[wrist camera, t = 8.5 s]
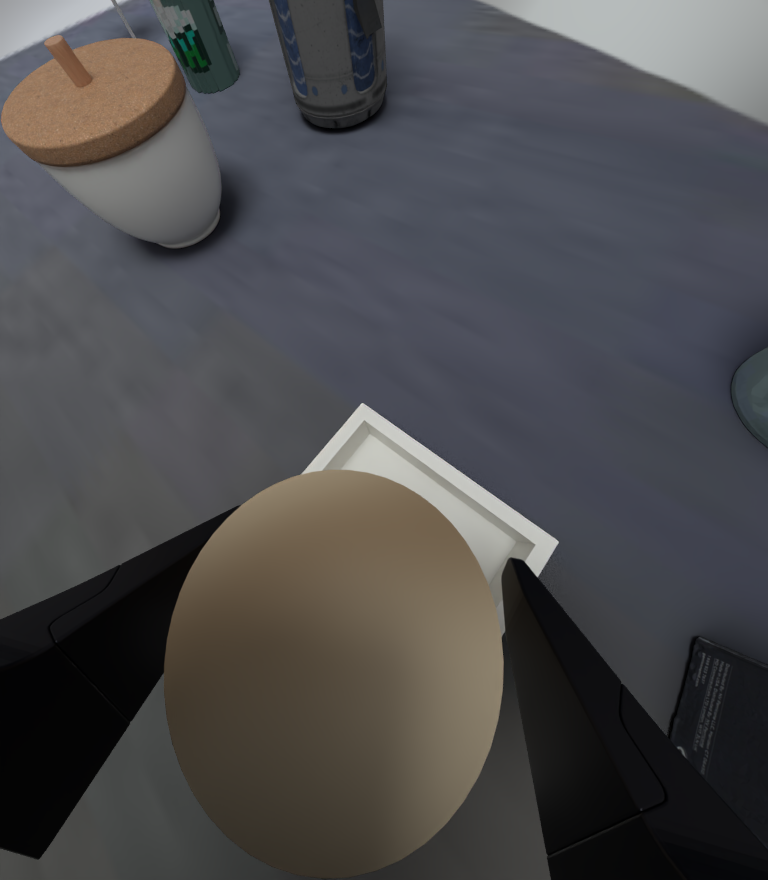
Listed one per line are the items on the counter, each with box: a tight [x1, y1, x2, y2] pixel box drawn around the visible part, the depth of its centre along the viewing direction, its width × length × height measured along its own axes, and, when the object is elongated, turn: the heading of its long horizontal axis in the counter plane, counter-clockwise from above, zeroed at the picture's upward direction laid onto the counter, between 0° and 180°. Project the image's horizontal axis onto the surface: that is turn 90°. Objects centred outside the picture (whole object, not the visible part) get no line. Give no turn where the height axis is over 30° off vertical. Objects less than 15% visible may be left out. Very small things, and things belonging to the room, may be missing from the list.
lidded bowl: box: [1, 35, 222, 249], centre depth 23 cm, size 13×13×11 cm
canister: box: [164, 470, 504, 879], centre depth 11 cm, size 6×6×12 cm
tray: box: [301, 403, 559, 637], centre depth 16 cm, size 13×13×4 cm
